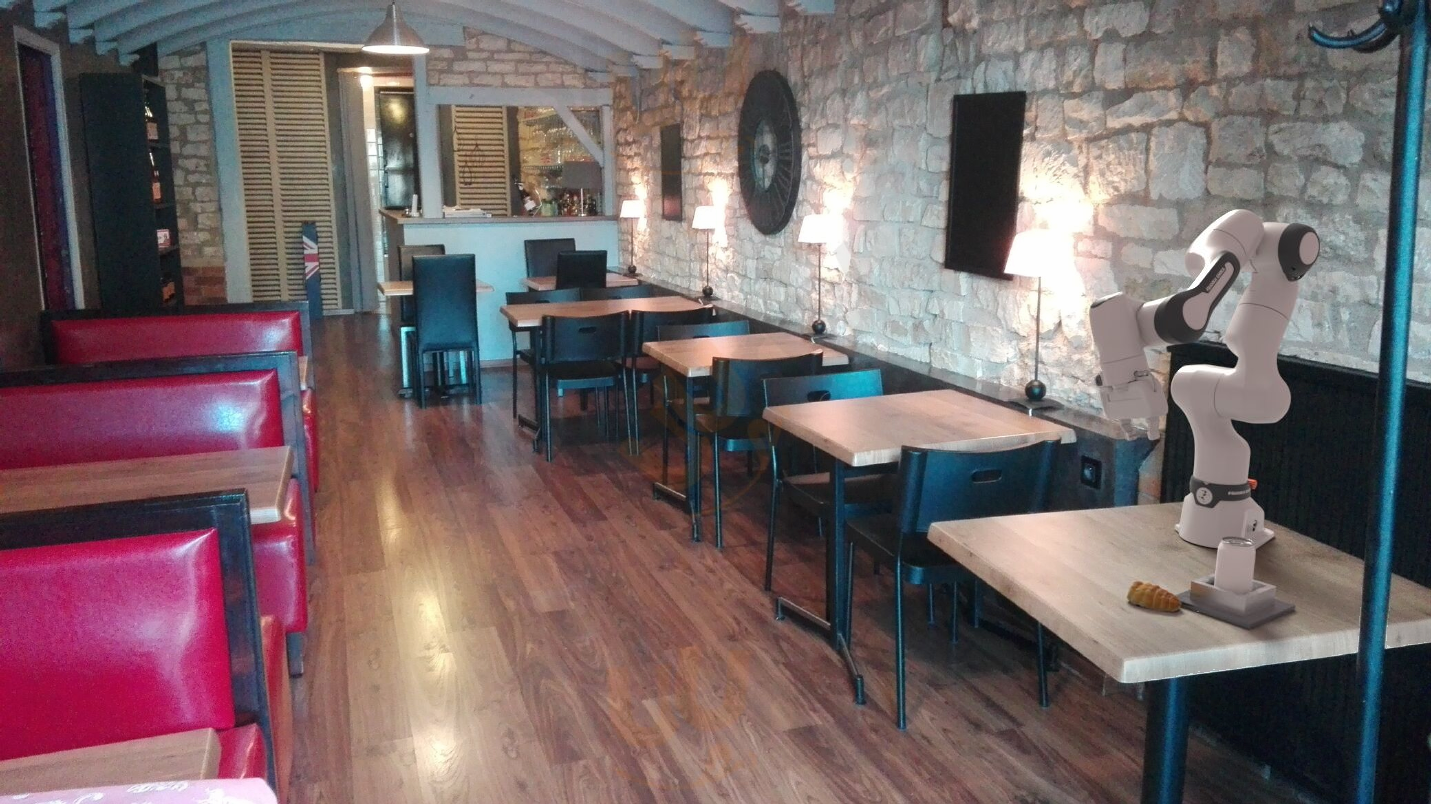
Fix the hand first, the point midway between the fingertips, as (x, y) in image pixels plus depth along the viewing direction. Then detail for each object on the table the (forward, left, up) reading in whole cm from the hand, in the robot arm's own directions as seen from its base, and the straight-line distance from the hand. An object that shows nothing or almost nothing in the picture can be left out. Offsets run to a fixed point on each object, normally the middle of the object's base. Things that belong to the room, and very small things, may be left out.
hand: (1143, 439), depth 225 cm
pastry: (+13, +13, -28) cm, 34 cm away
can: (+2, +22, -27) cm, 35 cm away
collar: (+1, +22, -28) cm, 36 cm away
